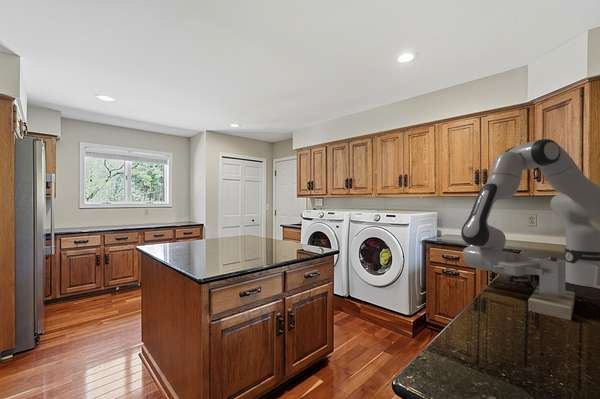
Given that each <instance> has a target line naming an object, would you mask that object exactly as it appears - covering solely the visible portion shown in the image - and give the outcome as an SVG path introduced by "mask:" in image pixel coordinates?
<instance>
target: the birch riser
mask: <svg viewBox="0 0 600 399" xmlns="http://www.w3.org/2000/svg"><path fill="white" fill-rule="evenodd" d="M574 306H575V291H570V290H566V289H565V297H564V298H560V299H555V298H551V297H547V296H543V295H539V286H537V287H536V288H534V290H533V293H532V294H531V295H530V296H529V298H528V300H527V307H528V308H527V310H528V312H530V311H532V312H531V313H535V312H536V313H537V314H541V315H544V316H549V317H554V318H559V319H562V320H568V321H572V316H573V311H574ZM536 313H535V314H536Z"/></svg>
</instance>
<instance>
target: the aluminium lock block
mask: <svg viewBox="0 0 600 399" xmlns="http://www.w3.org/2000/svg"><path fill="white" fill-rule="evenodd" d="M539 259H540V269H541V270H544V275H542V276H539V295H543V296H547V297H551V298H555V299H560V298H564V297H565V290H566V283H567V282H566V260H563V259H558V257H557V256H553V255H552V256H547V257H545V258H539Z"/></svg>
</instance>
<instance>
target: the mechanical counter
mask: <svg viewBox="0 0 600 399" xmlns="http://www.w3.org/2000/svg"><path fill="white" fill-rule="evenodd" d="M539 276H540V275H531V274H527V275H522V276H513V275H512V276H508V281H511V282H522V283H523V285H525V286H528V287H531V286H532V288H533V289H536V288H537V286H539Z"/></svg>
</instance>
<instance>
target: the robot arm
mask: <svg viewBox="0 0 600 399" xmlns="http://www.w3.org/2000/svg"><path fill="white" fill-rule="evenodd" d="M535 168H536V169H537V168H539V170H540V172H541V173H542V175H543V177H544V179H546V181H547V182H548V184H549V185H550V186H551V188H552V189H553V190H554V191H556V192H557V193H558V192H559V193H560V194H556V195H555V196H553V197H552V198H551V200H550V204H549V205H550V209H551V211H552V212H553V213H554V214H555V215H557V217H558V218H559V219H560V220H561V223H562V226H563V227H564V231H565V244H566V245H565V248H564V259H565V261H566V283H569V284H573V285H576V286H583V287H589V288H594V289H600V230H599V229H598V228H596V226H594V225H593V224H592V222H591V220H590V219H600V186H598V185H597V184H596V183H594V182H593V181H592V180H590V179H589V178H588V177H587V176H586V175H585V174H584V173H583V171H582V170H581V169H580V167H579V166H578V165H577V164H576V162H575V161H574V159H573V158H572V157H571V155H570V154H569V153H568V152H567V151H566V150H565V149H564V148H563V147H561V146H560V145H559V144H558V143H557V142H556V141H555V140H553V139H549V138H547V139H546V138H545V139H538V140H534V141H529V142H525V143H522V144H520V145H517V146H513V147H510V148H507V150H505V151H504V152H501V153H499V154H498V155H496V157H495V159H494V161H493V163H492V165H491V168H490V172H489V174H488V178H487V181H486V182H485V185H482V187H481V188H480V191H479V192H478V194H477V197H476V199H475V202H474V204H473V207H472V209H471V211H470V214H469V216H468V218H467V220H466V221H465V222H464V224H463V225H462V228H461V232H460V235H461V239H462V240H463V241H464V243H466V244H467V245H468V246H467V247H465V248H464V249H463V251H462V259H463V262H464V263H465V264H466V265H467V266H468V267H471V268H474V269H476V270H481V271H484V272H485V271H486V272H487V271H489V272H493V273H495V274H500V275H503V276H507V277H509V276H512V275H513V276H522V275H527V274H531V275H540V276H542V275H544V270H541V269H540V259H541V258H537V257H533V256H529V255H524V254H523V253H521V252H520V253H518V252H512V251H505V250H504V248H505V244H506V242H507V240H506V235H505V233H504V232H503V231H502V230H500V229H499V228H496V227H494V226H491V225H489V223H488V220H489V217H490V214H491V211H492V209H493V207H494V204H495V202H497V201H498V200H505V199H509V198H511V197H514V196H515V195H516V193H517V192H518V190H519V187H520V183H521V181H522V180H521V179H522V176H523V171H527V170H533V169H535Z"/></svg>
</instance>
